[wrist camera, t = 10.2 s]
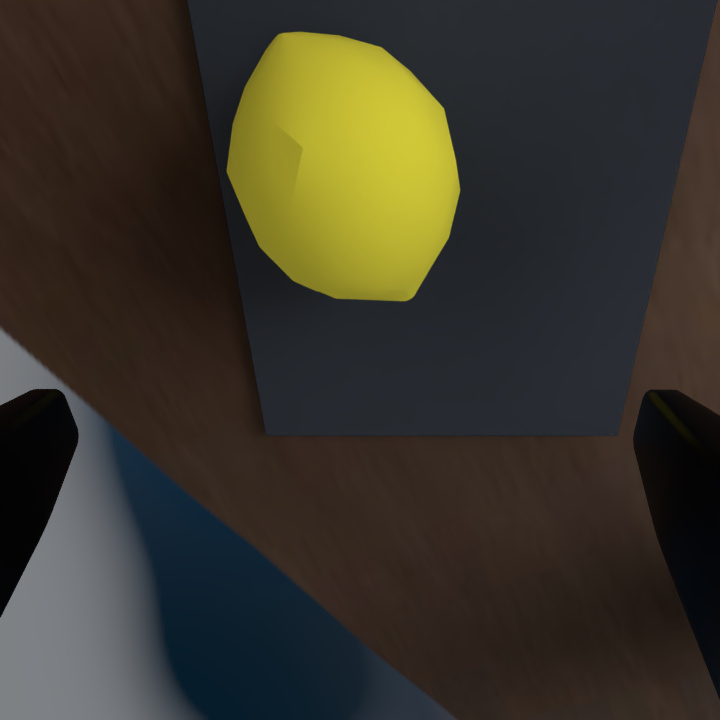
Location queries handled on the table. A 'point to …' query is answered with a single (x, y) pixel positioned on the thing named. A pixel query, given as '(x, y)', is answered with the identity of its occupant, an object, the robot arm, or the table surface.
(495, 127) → the desk mat
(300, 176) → the lemon
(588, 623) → the table surface
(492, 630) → the table surface
